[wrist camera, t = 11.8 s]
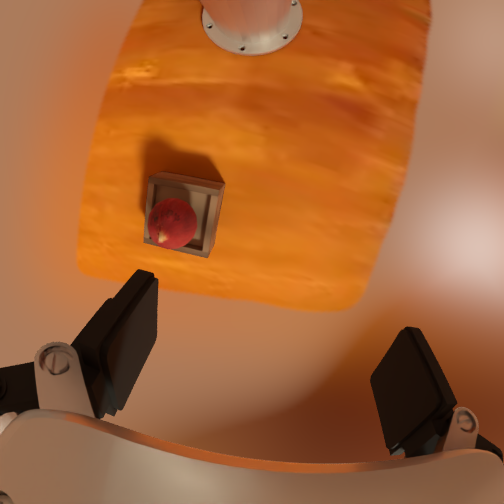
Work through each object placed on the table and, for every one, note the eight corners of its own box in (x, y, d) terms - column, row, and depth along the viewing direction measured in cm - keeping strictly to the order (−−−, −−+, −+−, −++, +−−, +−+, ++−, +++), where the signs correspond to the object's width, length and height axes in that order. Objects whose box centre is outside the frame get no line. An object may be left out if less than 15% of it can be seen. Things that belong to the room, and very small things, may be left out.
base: (161, 171, 36) (148, 176, 32) (225, 183, 36) (219, 190, 32) (155, 231, 40) (143, 242, 36) (213, 245, 40) (207, 258, 36)
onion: (152, 203, 34) (125, 224, 27) (189, 184, 33) (169, 200, 26) (173, 241, 37) (152, 270, 29) (210, 225, 35) (196, 251, 28)
